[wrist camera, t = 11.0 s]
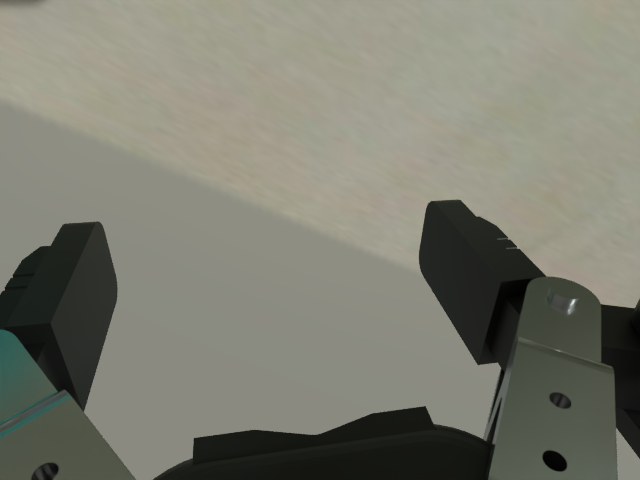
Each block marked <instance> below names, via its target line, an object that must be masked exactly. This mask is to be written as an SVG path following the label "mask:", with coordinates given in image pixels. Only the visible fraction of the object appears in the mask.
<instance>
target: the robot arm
mask: <svg viewBox="0 0 640 480" xmlns="http://www.w3.org/2000/svg"><path fill="white" fill-rule="evenodd" d="M419 264H420V269H421V272H422V274H423V276H424V278H425V280H426V281H427V283H428V284H429V286H430V287H431V289H432V291H433V293H434V294H435V296H436V297H437V299H438V301H439V302H440V304H441V306H442V307H443V309H444V311H445V312H446V314H447V315H448V317H449V319H450V320H451V322H452V324H453V325H454V327H455V328H456V330H457V332H458V333H459V335H460V337H461V338H462V340H463V341H464V343H465V345H466V346H467V348H468V350H469V351H470V353H471V354H472V356H473V358H474V360H475V361H476V363H477V364H478V365H480V364H489V363H497V362H498V363H499V365H500V366H501V370H500V373H499V376H498V380H497V384H496V388H495V392H494V396H493V400H492V404H491V408H490V413H489V417H488V421H487V425H486V429H485V433H484V437H483V439H481V438H479V437H477V436H475V435H472V434H470V433H468V432H465V431H462V430H459V429H455V428H452V427H447V426H442V425H436V424H433V422H432V420H431V418H430V415H429V413H428V411H427V409H426V407H425V406H424V407H417V408H409V409H402V410H395V411H388V412H380V413H373V414H370V415H367V416H365V417H362V418H360V419H357V420H355V421H352V422H350V423H347V424H345V425H342V426H340V427H337V428H335V429H332V430H330V431H327V432H325V433H322V434H318V435H305V434H295V433H283V432H273V431H261V430H250V431H243V432H235V433H228V434H221V435H213V436H207V437H199V438H194V446H193V458H192V459H189V460H187V461H184V462H182V463H180V464H178V465H176V466H174V467H172V468H170V469H168V470H167V471H165V472H164V473H162V474H161V475H159V476H157V477H156V478H154V479H153V480H618V475H617V444H616V428H617V429H618V430H619V432H620V433H621V434H622V436H623V437H624V438H625V440H626V441H627V442H628V444H629V445H630V446H631V447H632V449H633V450H634V452H635V453H636V454H637V456H638V457H639V458H640V299H639V301H638V303H637V305H636V307H635V308H627V307H618V306H610V305H602V304H600V302H599V300H598V298H597V297H596V296H595V295H594V294H593V293H592V292H591V291H590V290H588V289H587V288H585V287H584V286H582V285H580V284H578V283H575V282H573V281H570V280H567V279H563V278H558V277H546V276H545V275H544V274H543V272H542V271H541V270H540V269H539V268H538V267H537V266H536V265H535V264H534V263H533V262H532V261H531V260H530V259H529V258H528V257H527V256H526V255H525V254H524V253H523V252H522V251H521V250H520V249H517V246H516V245H515V244H514V243H513V242H512V241H511V240H508V237H507V236H506V235H505V234H504V233H503V232H502V231H501V230H500V229H499V228H498V227H497V226H496V225H494V224H492V223H490V222H489V221H487V220H485V219H483V218H481V217H476V216H475V215H474V214H473V213H472V212H471V211H470V210H469V209H468V207H467V206H466V205H465V204H464V203H463V202H462V201H461V200H443V201H431V202H430V203H429V204H428V206H427V208H426V213H425V219H424V225H423V232H422V238H421V244H420V250H419ZM116 301H117V280H116V274H115V271H114V267H113V263H112V259H111V255H110V251H109V247H108V243H107V239H106V235H105V232H104V228H103V226H102V224H101V223H100V222H85V223H69V224H64V225H63V226H62V227H61V229H60V230H59V232H58V234H57V236H56V237H55V239H54V241H53V243H52V245H51V246H42V247H39V248H38V249H37V250H35V251H34V252H33V253H31V254H30V255H29V256H27V257H26V258H25V259H23V260H22V261H21V263H20V265H19V266H18V268H17V269H16V271H15V273H14V274H13V278H11V279H10V280H9V282H8V283H7V285H6V287H5V291H3V292H2V293H1V295H0V480H136V479H135V478H134V476H133V475H132V474H131V473H130V471H129V470H128V469H127V467H126V466H125V465H124V464H123V462H122V461H121V460H120V458H119V457H118V456H117V454H116V453H115V452H114V451H113V449H112V448H111V447H110V445H109V444H108V443H107V442H106V440H105V439H104V438H103V437H102V435H101V434H100V433H99V431H98V430H97V429H96V428H95V426H94V425H93V424H92V422H91V421H90V420H89V418H88V417H87V416H86V415H85V413H84V409H85V406H86V403H87V399H88V396H89V393H90V388H91V385H92V382H93V379H94V376H95V372H96V369H97V366H98V362H99V359H100V355H101V352H102V349H103V345H104V342H105V338H106V335H107V332H108V328H109V325H110V322H111V318H112V314H113V311H114V308H115V305H116Z"/></svg>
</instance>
